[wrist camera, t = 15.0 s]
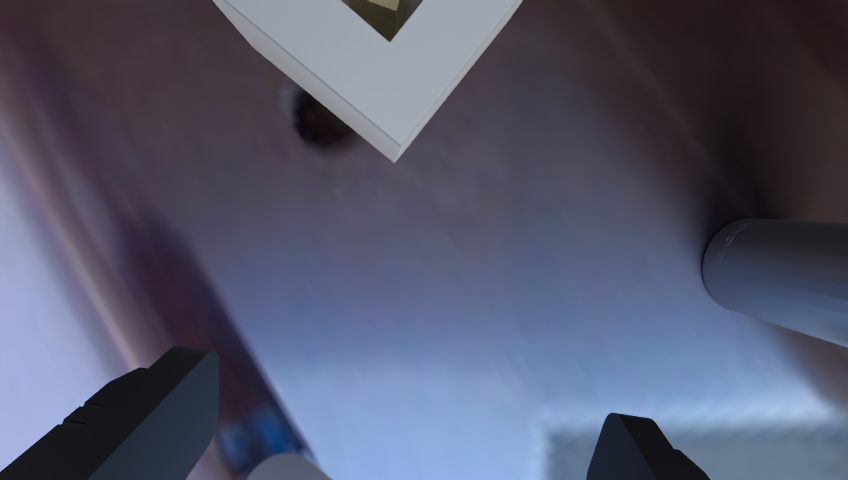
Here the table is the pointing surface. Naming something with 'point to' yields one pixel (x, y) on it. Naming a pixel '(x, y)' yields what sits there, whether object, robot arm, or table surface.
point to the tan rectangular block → (382, 15)
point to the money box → (373, 57)
